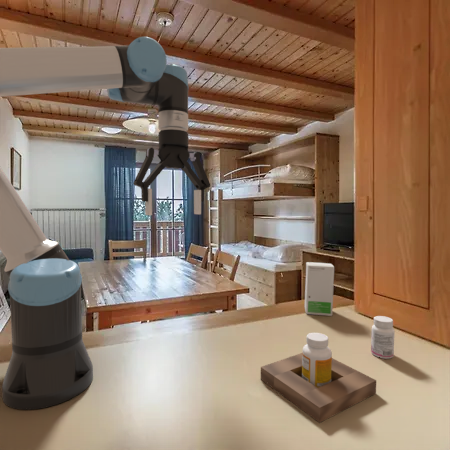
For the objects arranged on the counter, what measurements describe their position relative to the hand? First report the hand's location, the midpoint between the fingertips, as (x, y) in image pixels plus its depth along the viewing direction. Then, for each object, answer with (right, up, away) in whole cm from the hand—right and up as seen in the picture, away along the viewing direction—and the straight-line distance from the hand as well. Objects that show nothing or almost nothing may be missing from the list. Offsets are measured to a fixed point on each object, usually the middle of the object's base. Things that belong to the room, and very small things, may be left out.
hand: (174, 214), depth 84 cm
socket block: (+31, -33, -22) cm, 50 cm away
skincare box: (+43, -31, +20) cm, 57 cm away
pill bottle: (+50, -33, -9) cm, 60 cm away
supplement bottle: (+31, -34, -22) cm, 51 cm away
